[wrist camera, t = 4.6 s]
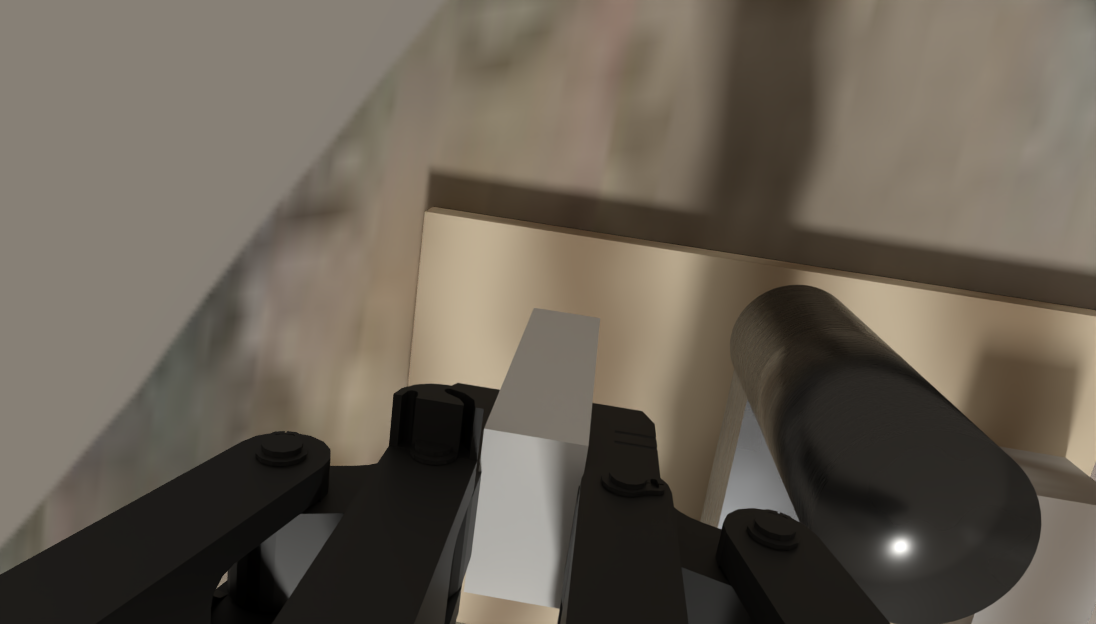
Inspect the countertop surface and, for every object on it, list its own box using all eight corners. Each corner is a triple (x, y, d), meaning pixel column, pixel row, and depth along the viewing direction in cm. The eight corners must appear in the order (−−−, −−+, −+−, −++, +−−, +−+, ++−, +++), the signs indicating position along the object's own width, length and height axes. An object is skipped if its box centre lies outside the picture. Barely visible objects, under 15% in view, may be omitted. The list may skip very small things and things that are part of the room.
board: (394, 590, 32) (356, 673, 27) (433, 206, 27) (395, 228, 23) (984, 696, 31) (1048, 802, 26) (1124, 314, 26) (1231, 360, 22)
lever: (647, 629, 29) (670, 1050, 16) (727, 251, 25) (842, 413, 12) (755, 649, 29) (864, 1091, 16) (853, 271, 25) (1104, 457, 12)
